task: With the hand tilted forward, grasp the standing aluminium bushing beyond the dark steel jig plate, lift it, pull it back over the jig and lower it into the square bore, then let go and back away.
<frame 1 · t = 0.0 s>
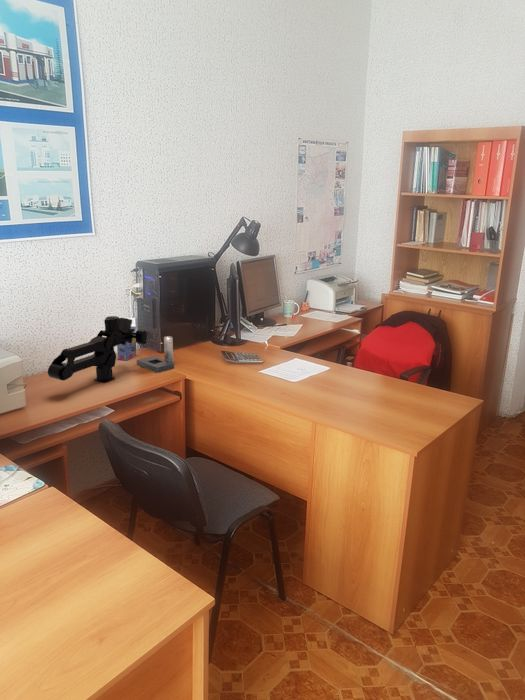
hand: (141, 331, 262), 17 cm above the table, tool horizontal, fingers open, 9 cm apart
ink cartridge box: (127, 357, 277), on the table
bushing: (169, 363, 269), on the table
jig: (155, 366, 264), on the table
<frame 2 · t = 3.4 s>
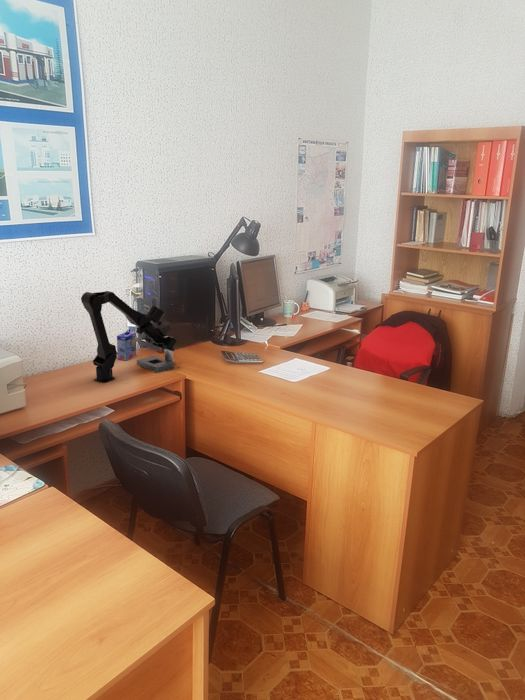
hand: (171, 349, 268), 7 cm above the table, tool tilted 45°, fingers closed on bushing, 4 cm apart
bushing: (169, 363, 269), on the table, touching gripper
everything else where it was.
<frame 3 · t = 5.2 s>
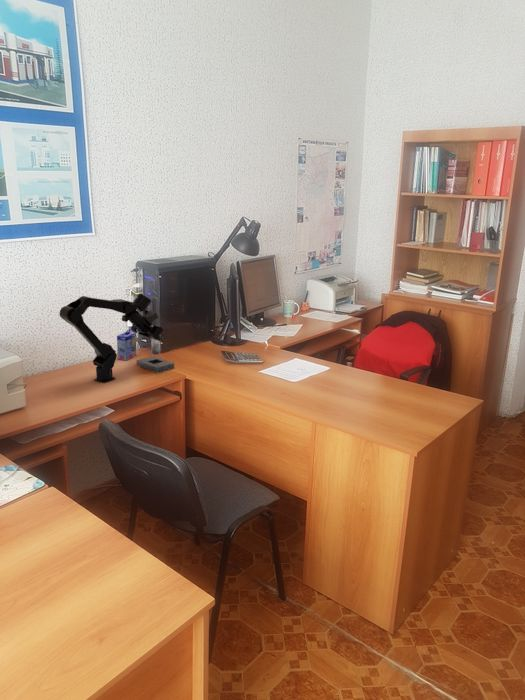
hand: (157, 339, 261), 13 cm above the table, tool tilted 45°, fingers closed on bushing, 4 cm apart
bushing: (155, 353, 262), point 6 cm above the table, touching gripper
everything else where it was.
when the fingers open (7 cm above the table, at t = 7.0 s): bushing stays where it is, resting in jig.
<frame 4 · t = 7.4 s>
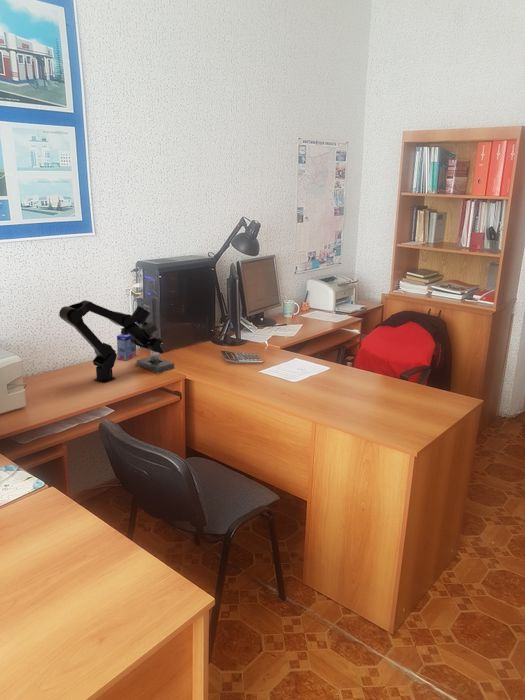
hand: (157, 350, 262), 8 cm above the table, tool tilted 45°, fingers open, 8 cm apart
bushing: (155, 366, 264), resting in jig
everything else where it was.
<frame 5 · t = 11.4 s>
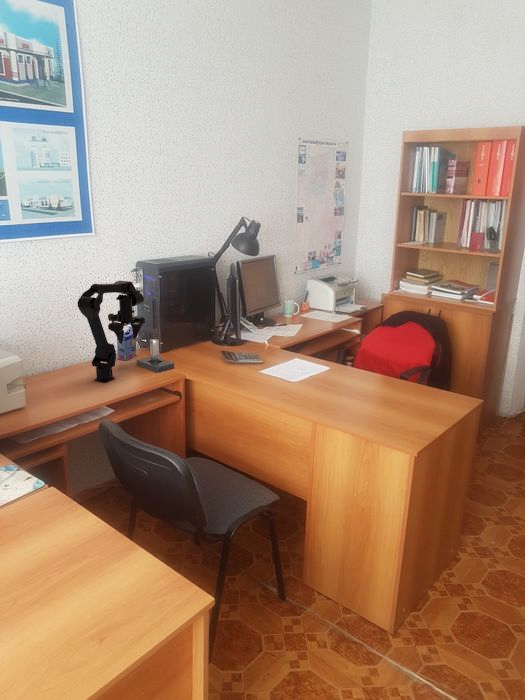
hand: (127, 341, 257), 13 cm above the table, tool pointing down, fingers open, 9 cm apart
nothing on the table moved.
at the end: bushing 0.1 cm off-centre on the jig, point 0.0 cm above the jig's base; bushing tilted 0°; the gripper is holding nothing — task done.
